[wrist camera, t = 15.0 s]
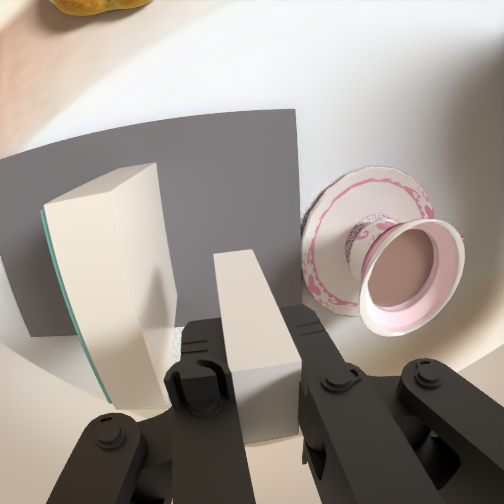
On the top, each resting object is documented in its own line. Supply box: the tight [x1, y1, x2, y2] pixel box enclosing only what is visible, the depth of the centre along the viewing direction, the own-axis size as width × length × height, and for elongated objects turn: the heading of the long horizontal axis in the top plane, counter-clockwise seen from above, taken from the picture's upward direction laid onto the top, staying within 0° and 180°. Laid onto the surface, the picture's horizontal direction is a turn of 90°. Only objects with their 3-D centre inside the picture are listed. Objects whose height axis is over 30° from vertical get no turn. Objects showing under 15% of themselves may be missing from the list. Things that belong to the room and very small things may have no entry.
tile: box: [40, 162, 177, 409], centre depth 15 cm, size 9×3×10 cm, turn 5°
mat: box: [0, 109, 301, 337], centre depth 19 cm, size 14×22×1 cm, turn 95°
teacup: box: [301, 166, 465, 337], centre depth 20 cm, size 12×12×6 cm
